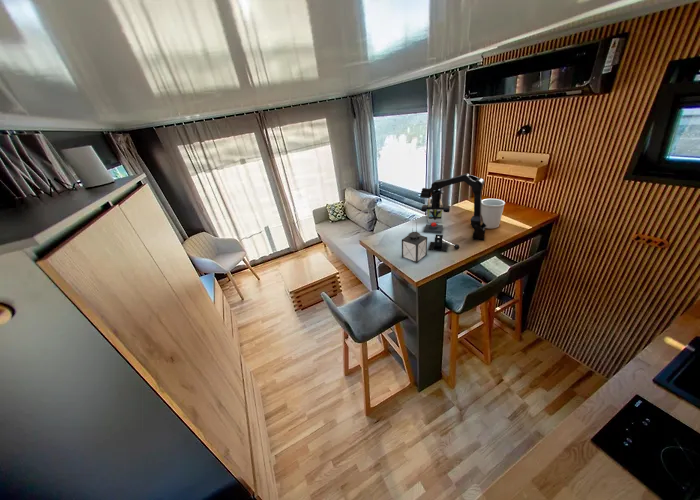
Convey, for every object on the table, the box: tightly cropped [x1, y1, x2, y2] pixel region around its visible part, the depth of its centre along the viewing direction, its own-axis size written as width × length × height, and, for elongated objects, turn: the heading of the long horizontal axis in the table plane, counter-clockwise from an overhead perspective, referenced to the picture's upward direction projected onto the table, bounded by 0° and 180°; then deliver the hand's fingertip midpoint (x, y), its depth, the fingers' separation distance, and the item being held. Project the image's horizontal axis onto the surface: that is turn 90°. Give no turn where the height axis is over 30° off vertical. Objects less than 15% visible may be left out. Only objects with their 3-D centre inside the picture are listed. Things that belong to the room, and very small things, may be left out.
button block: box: [423, 223, 444, 234], centre depth 185 cm, size 12×10×4 cm
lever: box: [437, 236, 460, 250], centre depth 160 cm, size 15×3×3 cm, turn 68°
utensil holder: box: [481, 198, 506, 229], centre depth 179 cm, size 15×15×18 cm
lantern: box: [401, 214, 428, 264], centre depth 152 cm, size 11×11×28 cm
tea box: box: [426, 198, 444, 224], centre depth 199 cm, size 15×10×15 cm
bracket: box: [428, 234, 449, 253], centre depth 163 cm, size 11×10×8 cm
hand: (434, 219), depth 181 cm, fingers closed
